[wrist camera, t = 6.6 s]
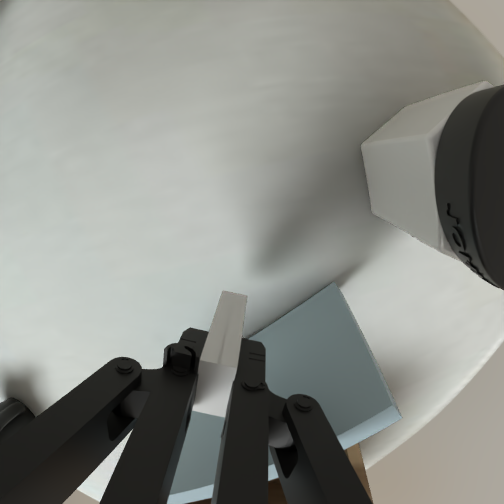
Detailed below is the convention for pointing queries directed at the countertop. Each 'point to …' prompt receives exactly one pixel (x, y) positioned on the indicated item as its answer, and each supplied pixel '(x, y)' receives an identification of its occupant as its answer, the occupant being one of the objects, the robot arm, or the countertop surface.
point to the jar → (445, 175)
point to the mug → (13, 418)
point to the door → (301, 387)
